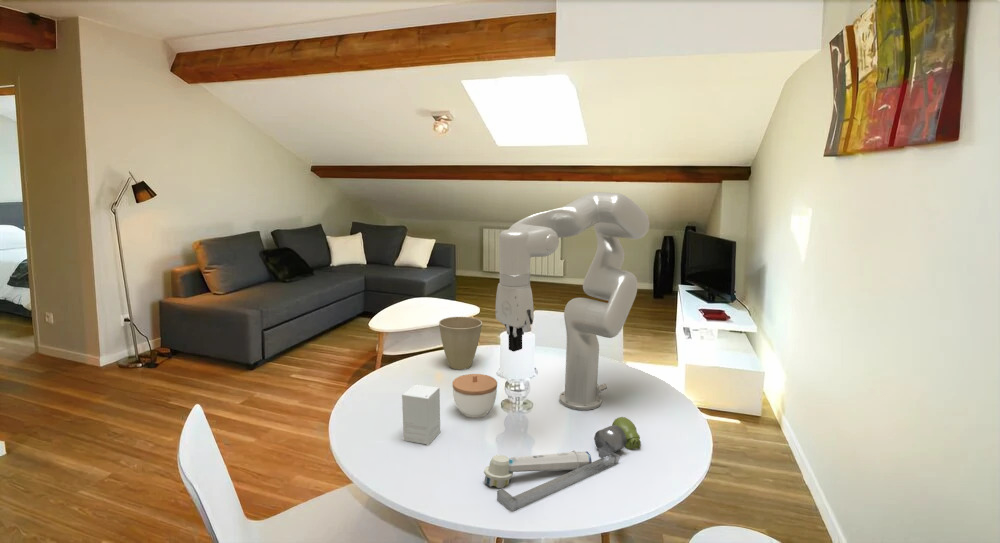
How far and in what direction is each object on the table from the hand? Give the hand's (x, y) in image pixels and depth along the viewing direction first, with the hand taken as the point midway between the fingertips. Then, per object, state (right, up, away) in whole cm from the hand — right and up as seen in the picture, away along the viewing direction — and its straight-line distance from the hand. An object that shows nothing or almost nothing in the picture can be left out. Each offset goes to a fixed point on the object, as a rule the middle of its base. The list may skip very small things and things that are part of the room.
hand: (515, 349), depth 137 cm
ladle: (+11, -26, -14) cm, 32 cm away
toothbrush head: (+5, -27, -15) cm, 31 cm away
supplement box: (-24, -23, +2) cm, 33 cm away
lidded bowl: (-11, -20, +16) cm, 28 cm away
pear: (+29, -24, +1) cm, 37 cm away
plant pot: (-18, -13, +52) cm, 56 cm away
